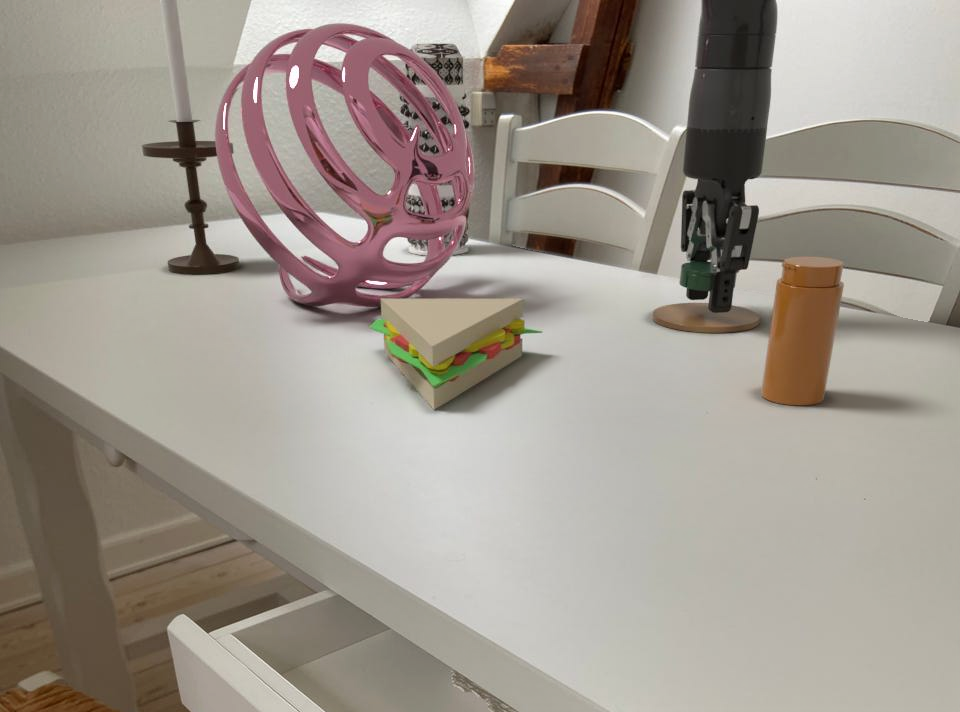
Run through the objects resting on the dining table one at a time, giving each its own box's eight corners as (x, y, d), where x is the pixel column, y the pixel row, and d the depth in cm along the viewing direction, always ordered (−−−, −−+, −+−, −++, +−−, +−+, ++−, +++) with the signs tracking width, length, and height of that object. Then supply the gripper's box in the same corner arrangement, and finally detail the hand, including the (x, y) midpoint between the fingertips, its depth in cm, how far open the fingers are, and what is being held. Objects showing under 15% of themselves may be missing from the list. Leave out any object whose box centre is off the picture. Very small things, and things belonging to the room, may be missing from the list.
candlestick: (143, 270, 129) (88, -61, 111) (204, 257, 137) (162, -54, 119) (204, 278, 124) (157, -66, 106) (264, 264, 132) (229, -58, 114)
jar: (791, 384, 85) (812, 253, 80) (837, 399, 81) (862, 263, 76) (748, 393, 83) (766, 259, 77) (792, 409, 79) (815, 270, 74)
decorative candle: (399, 246, 144) (391, 43, 131) (462, 243, 146) (460, 43, 133) (411, 257, 136) (403, 43, 123) (477, 254, 138) (476, 43, 125)
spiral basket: (143, 101, 110) (262, -84, 89) (352, 154, 128) (490, 10, 108) (196, 343, 107) (330, 209, 87) (401, 360, 126) (551, 253, 106)
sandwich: (307, 400, 81) (302, 338, 79) (389, 341, 98) (387, 288, 95) (490, 416, 78) (490, 351, 75) (543, 352, 94) (545, 297, 92)
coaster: (709, 303, 111) (709, 298, 111) (781, 324, 103) (782, 318, 103) (631, 316, 107) (631, 310, 106) (700, 338, 98) (701, 332, 98)
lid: (703, 293, 100) (706, 275, 99) (667, 282, 104) (669, 264, 103) (746, 288, 102) (749, 269, 101) (709, 277, 106) (711, 259, 105)
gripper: (798, 127, 90) (771, 319, 99) (733, 117, 102) (714, 289, 111) (719, 128, 89) (699, 323, 97) (663, 119, 101) (650, 292, 110)
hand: (707, 304), depth 104 cm, fingers closed on lid, 5 cm apart
